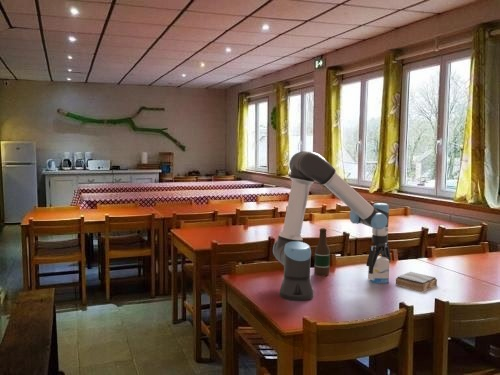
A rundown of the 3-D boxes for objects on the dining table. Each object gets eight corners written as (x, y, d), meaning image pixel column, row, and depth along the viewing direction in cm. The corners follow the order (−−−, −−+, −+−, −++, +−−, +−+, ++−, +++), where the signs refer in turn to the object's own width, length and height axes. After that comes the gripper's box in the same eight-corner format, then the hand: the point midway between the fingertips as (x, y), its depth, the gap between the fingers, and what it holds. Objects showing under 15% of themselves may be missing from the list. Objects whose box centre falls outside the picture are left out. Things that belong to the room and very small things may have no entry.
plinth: (422, 291, 217) (423, 283, 217) (395, 284, 227) (395, 276, 227) (436, 285, 227) (437, 277, 226) (409, 279, 237) (410, 271, 237)
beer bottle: (328, 272, 247) (330, 227, 245) (329, 276, 240) (331, 230, 237) (313, 271, 248) (315, 227, 246) (314, 275, 240) (315, 229, 238)
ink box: (389, 283, 229) (390, 260, 228) (371, 283, 229) (372, 259, 228) (384, 278, 237) (385, 255, 236) (367, 278, 238) (368, 255, 236)
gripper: (373, 238, 220) (371, 283, 222) (399, 232, 236) (397, 274, 238) (359, 236, 225) (358, 280, 228) (386, 230, 242) (384, 271, 244)
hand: (378, 277), depth 233 cm, fingers closed on ink box, 11 cm apart
